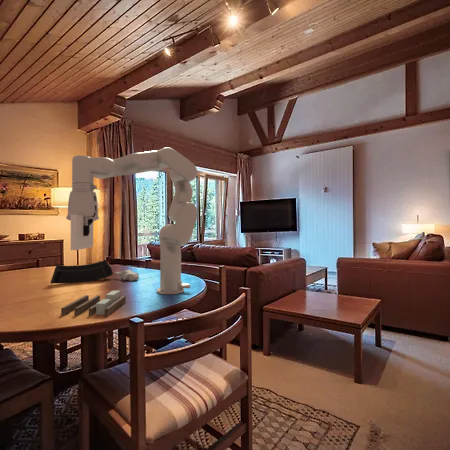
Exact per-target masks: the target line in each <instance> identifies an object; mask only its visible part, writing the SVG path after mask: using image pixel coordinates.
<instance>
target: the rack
mask: <svg viewBox="0 0 450 450" xmlns="http://www.w3.org/2000/svg"><path fill="white" fill-rule="evenodd" d="M89 297H90V296H89V295H87V294H86V295H84V296H82V297H79V298H78V299H76V300H74V301H71V302H70V303H68V304H66V305H64V306H63V307H61V308H60V315H61V316H66V315H67V314H70V313H71V312H73V311H74V312H73V313H74V316H75V317H76V316H80V315H82V314H83V313H84V312H86V311H88V316H89V317H92V316H94V315H96V303H98V302H99V301H101V295H95V296H93V297H91V298H90V299H89ZM104 299H106V297H104ZM126 300H127V296H126V295H122V296H120V298H119V299H118V300H116V301H115V302H114V303H112V304H111V305H109V306H108V307H107V308H105V315H104V316H105V317H109V316H110V315H112V314H113V313H114V312H115V311H116V310H118V309H119V308H120V307H121V306H123V305H124V304H125V303H126V302H127V301H126Z"/></svg>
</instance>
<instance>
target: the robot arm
mask: <svg viewBox="0 0 450 450" xmlns="http://www.w3.org/2000/svg"><path fill="white" fill-rule="evenodd" d="M167 168H169V169H170V170H169V178H170V180H171V182H172V184H173V185H174V194H173V198H172V202H171V204H170V207H169V209H168V218H169V219H170V221H172V222H175V223H169V224H168V223H167V224H165V225H163V226H162V227H161V228H160V230H159V231H158V240H159V246H160V249H159V250H160V266H159V267H160V269H159V270H160V271H159V272H160V274H159V275H160V276H159V277H160V278H159V279H160V280H159V283H160V284H159V285H160V286H159V287H158V288H157V289H156V293H157V294H161V295H177V294H178V295H179V294H182V293H184V291H185V289H191V284H190V283H184V282H183V280H182V251H181V249H182V248H181V246H184V245H185V246H186V245H187V244H188V243H189V242H190V240H191V238H192V236H193V233H194V228H195V226H196V222H197V219H198V209H197V207H196V205H195V204H194V203H193V202H192V199H193V187H192V185H191V183H190V182H192V181H193V180H196V178H197V176H198V169H197V167H196V165H195V164H194V162H192V161H191V160H189V159H188V158H186V157H185V156H184V155H182V154H181V153H180V152H178V151H177V150H175V149H174V148H172V147H168V146H167V147H163V148H161V149H159V150H158V149H157V150H151V151H150V150H149V151H144V152H142V151H141V152H134V153H130V154H127V155H124V156H121V157H118V158H112V159H111V158H110V157H104V156H103V157H102V156H101V157H99V156H98V157H94V156H93V157H92V156H88V155H82V154H81V155H78V154H77V155H74V156H73V157H72V160H71V179H72V180H71V191H70V192H69V197H68V201H67V202H68V203H67V215H66V217H65V219H66V220H68V221H70V222H71V215H83V217H85V226H83V235H84V236H89V233H90V225H91V224H92V223H93V224H94V222H96V221H98V220H99V219H100V217H99V205H98V197H97V194H96V192H95V190H96V189H98V186H97V184H96V185H95V183H94V179H95V178H96V179H99V180H102V179H108V178H114V177H119V176H120V177H121V176H126V175H127V176H128V175H136V174H141V173H147V172H153V171H160V170H164V169H167ZM91 217H93V218H91Z"/></svg>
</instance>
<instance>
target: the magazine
mask: <svg viewBox="0 0 450 450" xmlns="http://www.w3.org/2000/svg"><path fill="white" fill-rule="evenodd" d="M113 274H114V272H113V269H112V267H111V265H110V263H109V261H107V260H106V259H103V260H101V261H97V262H93V263H87V264H80V265H78V264H77V265H76V264H73V265H62V264H61V265H60V264H56V265H55V268H54V270H53V274H52V277H51V279H50V284H51V285H53V284H64V285H65V284H80V283H89V282H95V281H99V280H107V278H109V277H111V276H113Z"/></svg>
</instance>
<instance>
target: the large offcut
mask: <svg viewBox="0 0 450 450" xmlns="http://www.w3.org/2000/svg"><path fill="white" fill-rule="evenodd" d="M105 298H106V299H111V304H112V303H114V302H115V301H116V300H118V299H119V298H121V290H111V291H110V292H108V293H106V294H105Z"/></svg>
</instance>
